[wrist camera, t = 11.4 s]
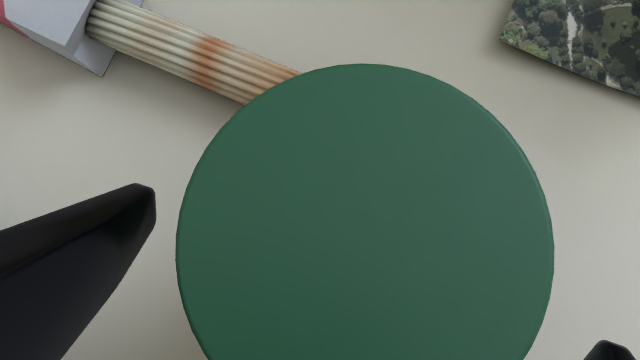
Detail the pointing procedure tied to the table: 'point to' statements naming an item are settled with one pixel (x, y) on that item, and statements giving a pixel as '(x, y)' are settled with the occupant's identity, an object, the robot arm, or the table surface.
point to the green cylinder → (364, 226)
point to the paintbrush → (142, 43)
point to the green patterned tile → (581, 37)
